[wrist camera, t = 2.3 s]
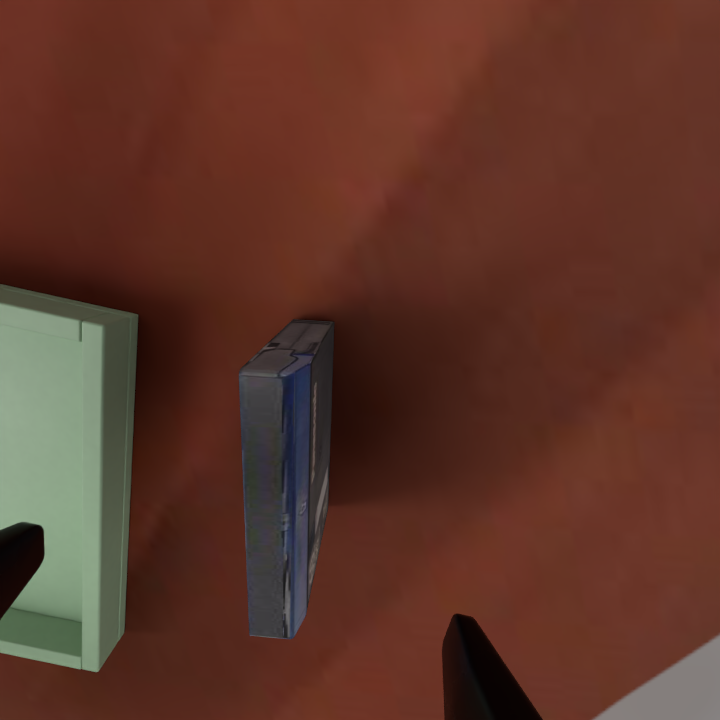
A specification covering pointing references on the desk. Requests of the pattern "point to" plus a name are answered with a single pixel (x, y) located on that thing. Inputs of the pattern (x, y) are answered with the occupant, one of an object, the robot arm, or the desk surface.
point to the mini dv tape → (285, 471)
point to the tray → (67, 470)
